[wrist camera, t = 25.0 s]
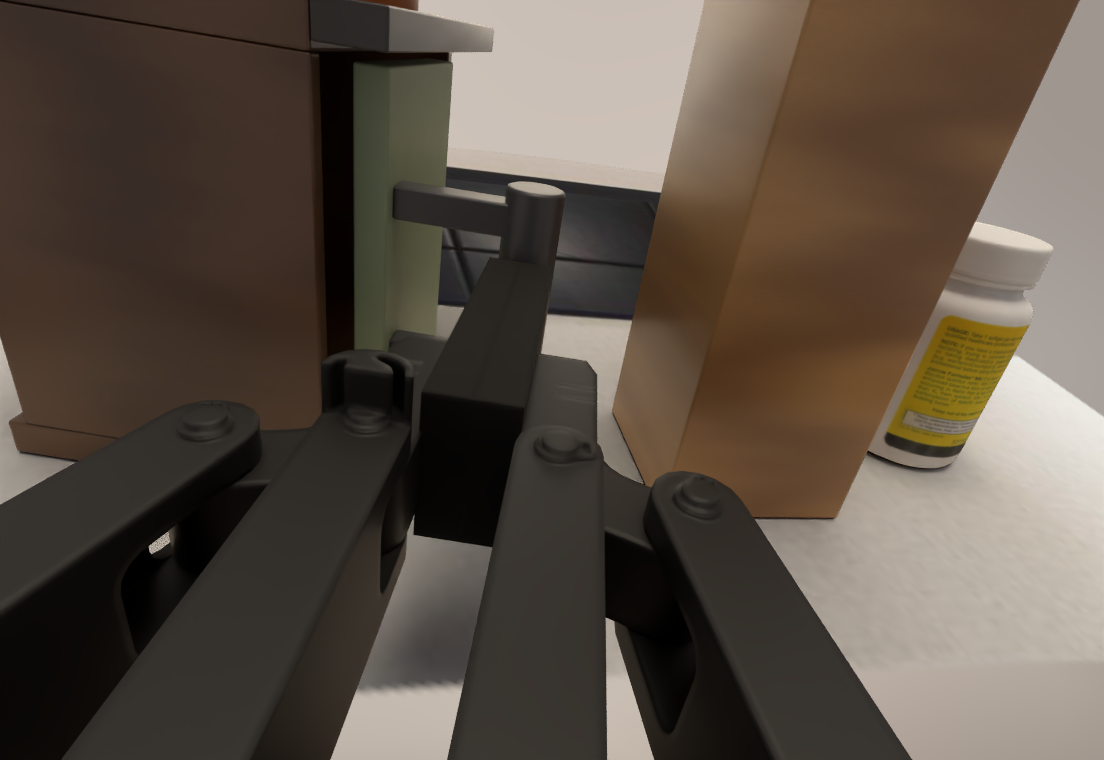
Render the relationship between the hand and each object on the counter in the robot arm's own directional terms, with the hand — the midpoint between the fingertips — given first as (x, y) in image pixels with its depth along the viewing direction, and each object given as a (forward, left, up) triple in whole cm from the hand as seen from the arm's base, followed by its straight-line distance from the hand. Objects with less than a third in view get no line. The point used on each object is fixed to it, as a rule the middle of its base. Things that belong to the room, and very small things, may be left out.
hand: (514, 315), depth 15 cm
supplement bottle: (-13, -11, -6) cm, 18 cm away
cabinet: (+10, -3, -6) cm, 12 cm away
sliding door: (+2, -3, -5) cm, 6 cm away
